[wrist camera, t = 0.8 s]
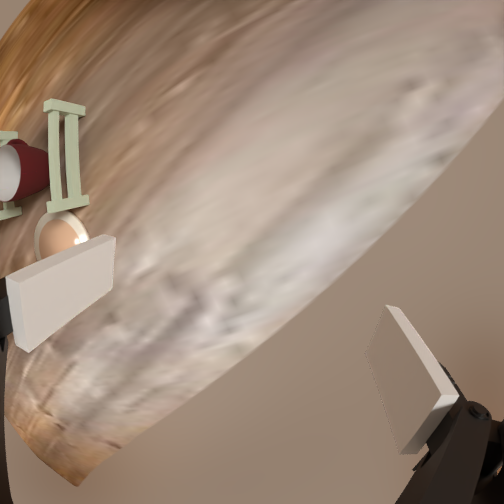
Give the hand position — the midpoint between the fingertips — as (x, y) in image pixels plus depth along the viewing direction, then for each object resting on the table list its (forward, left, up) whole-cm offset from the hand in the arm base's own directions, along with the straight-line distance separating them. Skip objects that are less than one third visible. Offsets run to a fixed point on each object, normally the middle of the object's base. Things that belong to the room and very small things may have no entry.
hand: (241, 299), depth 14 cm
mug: (-11, -35, -26) cm, 45 cm away
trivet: (+3, -33, -26) cm, 42 cm away
